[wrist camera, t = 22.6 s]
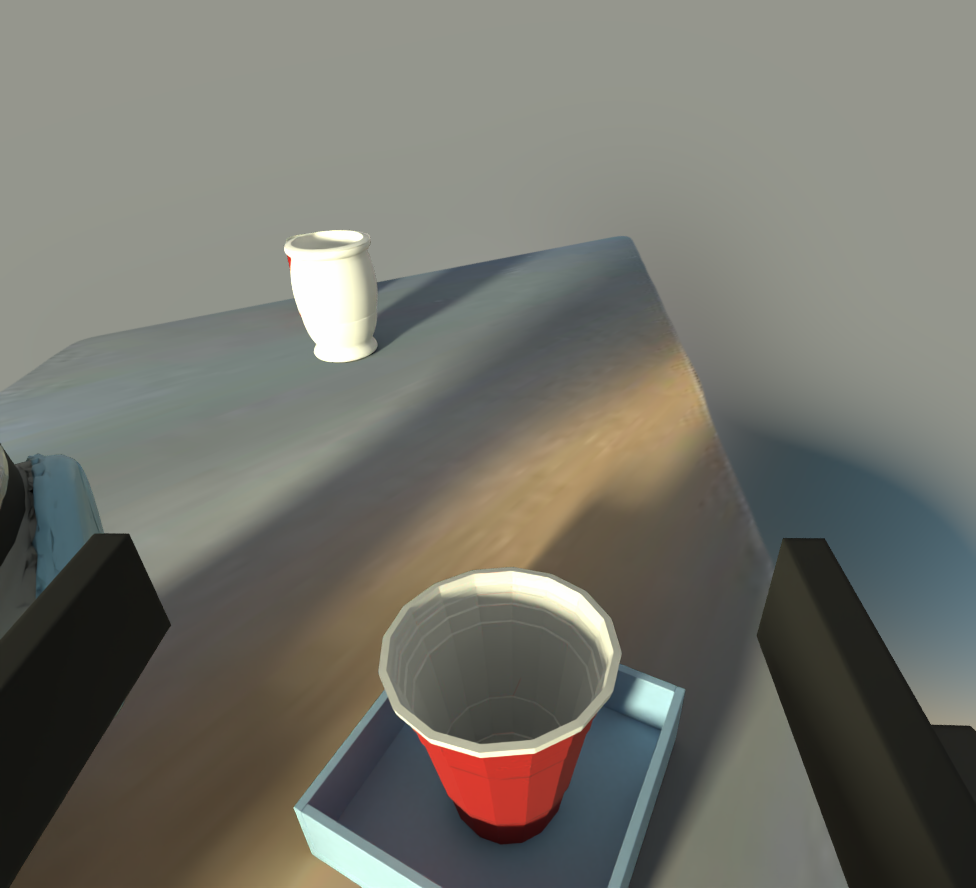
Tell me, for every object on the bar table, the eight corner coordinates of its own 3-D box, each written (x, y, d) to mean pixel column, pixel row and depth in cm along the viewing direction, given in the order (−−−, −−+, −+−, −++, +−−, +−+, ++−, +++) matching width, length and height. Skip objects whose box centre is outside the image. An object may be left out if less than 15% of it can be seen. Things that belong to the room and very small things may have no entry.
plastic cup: (565, 681, 40) (570, 537, 34) (641, 861, 31) (667, 712, 25) (395, 723, 38) (366, 579, 32) (424, 929, 29) (391, 786, 23)
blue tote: (311, 854, 33) (292, 807, 31) (459, 646, 44) (454, 598, 41) (581, 1033, 27) (586, 992, 24) (675, 737, 38) (685, 688, 35)
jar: (377, 330, 92) (362, 224, 84) (392, 358, 84) (377, 244, 76) (303, 343, 90) (280, 235, 82) (311, 373, 81) (286, 256, 73)
